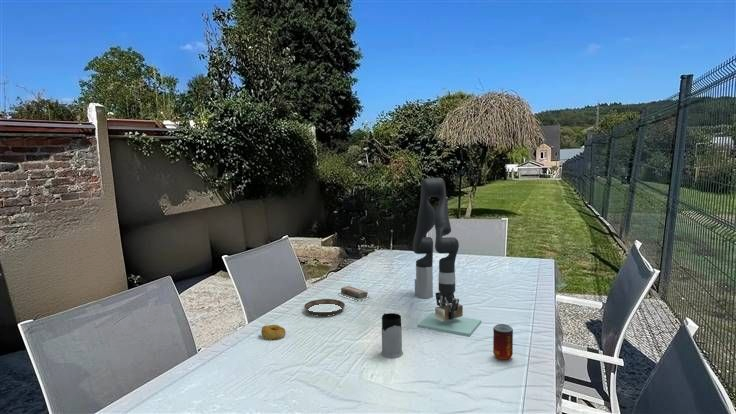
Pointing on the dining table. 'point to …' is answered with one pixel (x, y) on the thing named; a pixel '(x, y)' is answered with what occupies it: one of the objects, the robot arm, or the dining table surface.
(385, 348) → the glass holder
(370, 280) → the dining table surface
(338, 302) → the plant saucer
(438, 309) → the brown tall square block
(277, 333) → the bagel
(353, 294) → the packaged product
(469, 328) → the sage board
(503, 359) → the soda can
